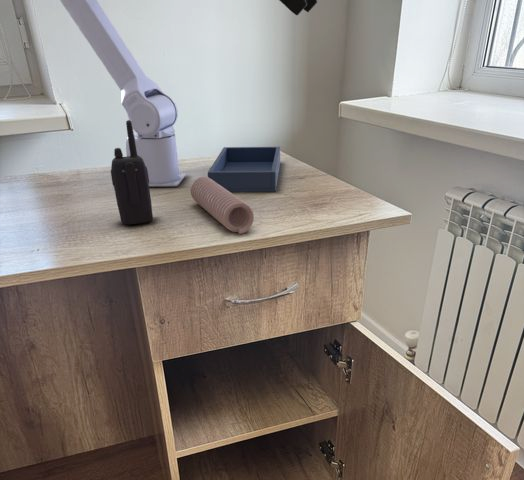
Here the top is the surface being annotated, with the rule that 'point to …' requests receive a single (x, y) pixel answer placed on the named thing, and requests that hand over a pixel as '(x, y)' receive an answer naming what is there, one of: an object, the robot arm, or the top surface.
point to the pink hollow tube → (222, 205)
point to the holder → (247, 169)
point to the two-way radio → (131, 184)
